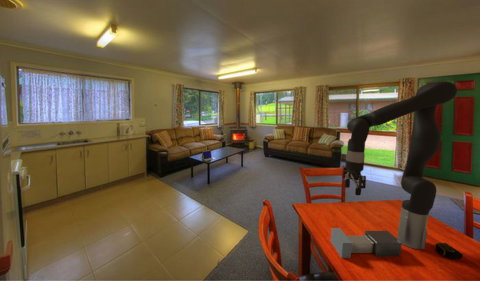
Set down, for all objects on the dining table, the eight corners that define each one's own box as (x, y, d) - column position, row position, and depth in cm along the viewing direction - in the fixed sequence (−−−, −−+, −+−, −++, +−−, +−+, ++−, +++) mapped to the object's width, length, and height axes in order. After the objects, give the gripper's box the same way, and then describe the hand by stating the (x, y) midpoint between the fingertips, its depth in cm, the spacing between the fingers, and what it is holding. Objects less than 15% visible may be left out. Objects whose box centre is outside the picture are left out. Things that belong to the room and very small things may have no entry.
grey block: (338, 241, 88) (339, 228, 87) (350, 258, 78) (352, 243, 77) (330, 241, 88) (331, 228, 87) (341, 258, 78) (342, 243, 77)
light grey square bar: (371, 244, 85) (372, 233, 84) (380, 253, 80) (382, 242, 79) (335, 243, 86) (336, 233, 85) (342, 253, 80) (343, 242, 79)
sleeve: (385, 243, 86) (387, 230, 85) (399, 256, 78) (401, 242, 77) (363, 243, 86) (365, 230, 85) (375, 256, 79) (377, 242, 78)
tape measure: (463, 261, 76) (464, 253, 75) (446, 260, 76) (447, 253, 76) (445, 249, 83) (446, 241, 82) (430, 248, 83) (431, 241, 82)
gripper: (339, 156, 93) (337, 185, 96) (356, 164, 79) (353, 198, 82) (353, 156, 93) (350, 185, 96) (373, 163, 79) (369, 197, 82)
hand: (352, 191), depth 89 cm, fingers open, 8 cm apart
